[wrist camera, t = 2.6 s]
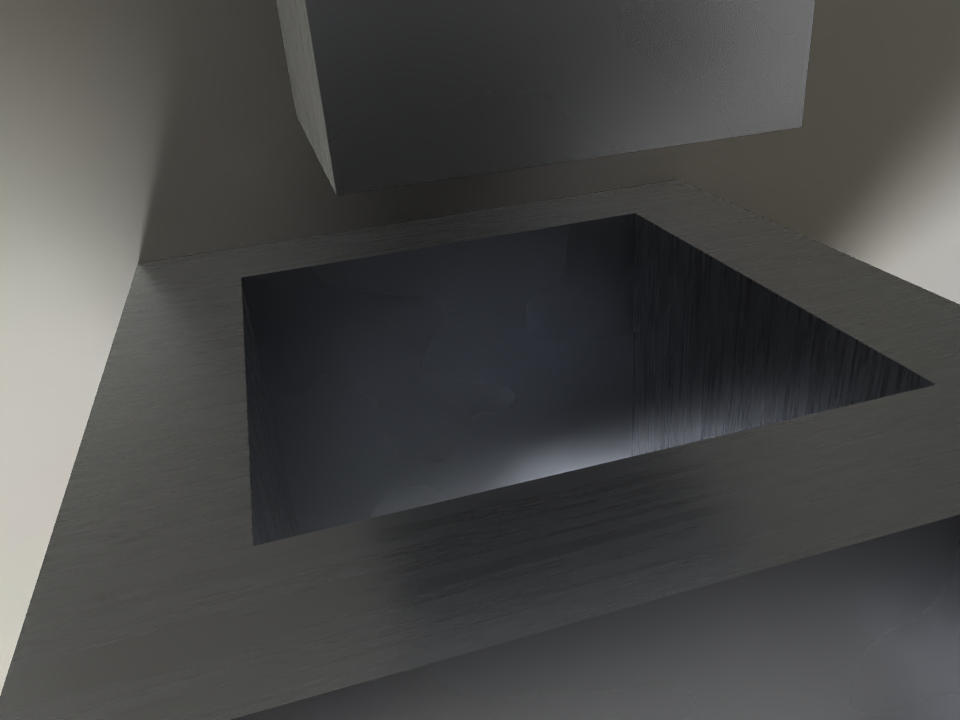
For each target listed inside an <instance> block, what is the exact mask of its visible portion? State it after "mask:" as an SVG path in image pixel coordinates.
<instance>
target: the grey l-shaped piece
mask: <svg viewBox="0 0 960 720" xmlns="http://www.w3.org/2000/svg"><path fill="white" fill-rule="evenodd" d="M276 3H277V9H278V14H279V20H280V26H281V31H282V37H283V43H284V48H285V54H286V60H287V65H288V71H289V77H290V82H291V88H292V94H293V99H294V105H295V111H296V116H297V118H298V120H299V122H300V124H301V126H302V128H303V130H304V132H305V134H306V136H307V138H308V140H309V142H310V144H311V146H312V148H313V150H314V152H315V154H316V156H317V158H318V160H319V161H320V163H321V165H322V167H323V169H324V171H325V173H326V175H327V177H328V179H329V181H330V183H331V185H332V187H333V189H334V191H335V193H336V195H343V194H350V193H357V192H363V191H370V190H377V189H384V188H391V187H397V186H404V185H411V184H418V183H425V182H431V181H438V180H445V179H452V178H459V177H466V176H472V175H479V174H486V173H493V172H500V171H506V170H513V169H520V168H527V167H534V166H541V165H547V164H554V163H561V162H568V161H575V160H581V159H588V158H595V157H602V156H609V155H615V154H622V153H629V152H636V151H643V150H650V149H656V148H663V147H670V146H677V145H684V144H690V143H697V142H704V141H711V140H718V139H725V138H731V137H738V136H745V135H752V134H759V133H765V132H772V131H779V130H786V129H793V128H799V127H802V118H803V109H804V100H805V90H806V81H807V72H808V62H809V53H810V44H811V35H812V25H813V16H814V7H815V0H276Z"/></svg>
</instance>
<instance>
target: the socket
mask: <svg viewBox="0 0 960 720" xmlns="http://www.w3.org/2000/svg"><path fill="white" fill-rule="evenodd" d="M0 720H960V305H959V304H957V303H955V302H953V301H950V300H948V299H946V298H944V297H941V296H939V295H937V294H935V293H932V292H930V291H928V290H926V289H923V288H921V287H919V286H917V285H914V284H912V283H910V282H908V281H905V280H903V279H901V278H899V277H896V276H894V275H892V274H889V273H887V272H885V271H883V270H880V269H878V268H876V267H874V266H871V265H869V264H867V263H865V262H862V261H860V260H858V259H856V258H853V257H851V256H849V255H847V254H844V253H842V252H840V251H838V250H835V249H833V248H831V247H829V246H826V245H824V244H822V243H820V242H817V241H815V240H813V239H810V238H808V237H806V236H804V235H801V234H799V233H797V232H795V231H792V230H790V229H788V228H786V227H783V226H781V225H779V224H777V223H774V222H772V221H770V220H768V219H765V218H763V217H761V216H759V215H756V214H754V213H752V212H750V211H747V210H745V209H743V208H741V207H738V206H736V205H734V204H731V203H729V202H727V201H725V200H722V199H720V198H718V197H716V196H713V195H711V194H709V193H707V192H704V191H702V190H700V189H698V188H695V187H693V186H691V185H689V184H686V183H684V182H682V181H680V180H672V181H666V182H659V183H653V184H646V185H640V186H634V187H627V188H621V189H614V190H608V191H601V192H595V193H589V194H582V195H576V196H569V197H563V198H556V199H550V200H544V201H537V202H531V203H524V204H518V205H511V206H505V207H498V208H492V209H486V210H479V211H473V212H466V213H460V214H453V215H447V216H441V217H434V218H428V219H421V220H415V221H408V222H402V223H396V224H389V225H383V226H376V227H370V228H363V229H357V230H351V231H344V232H338V233H331V234H325V235H318V236H312V237H305V238H299V239H293V240H286V241H280V242H273V243H267V244H260V245H254V246H248V247H241V248H235V249H228V250H222V251H215V252H209V253H203V254H196V255H190V256H183V257H177V258H170V259H164V260H158V261H151V262H145V263H138V265H137V268H136V271H135V275H134V278H133V281H132V284H131V287H130V290H129V293H128V297H127V300H126V303H125V306H124V309H123V312H122V315H121V319H120V322H119V325H118V328H117V331H116V334H115V337H114V341H113V344H112V347H111V350H110V353H109V356H108V359H107V363H106V366H105V369H104V372H103V375H102V378H101V381H100V385H99V388H98V391H97V394H96V397H95V400H94V403H93V407H92V410H91V413H90V416H89V419H88V422H87V425H86V429H85V432H84V435H83V438H82V441H81V444H80V447H79V451H78V454H77V457H76V460H75V463H74V466H73V469H72V473H71V476H70V479H69V482H68V485H67V488H66V491H65V495H64V498H63V501H62V504H61V507H60V510H59V513H58V517H57V520H56V523H55V526H54V529H53V532H52V535H51V539H50V542H49V545H48V548H47V551H46V554H45V557H44V561H43V564H42V567H41V570H40V573H39V576H38V579H37V583H36V586H35V589H34V592H33V595H32V598H31V601H30V605H29V608H28V611H27V614H26V617H25V620H24V623H23V627H22V630H21V633H20V636H19V639H18V642H17V645H16V649H15V652H14V655H13V658H12V661H11V664H10V667H9V671H8V674H7V677H6V680H5V683H4V686H3V689H2V693H1V696H0Z"/></svg>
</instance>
